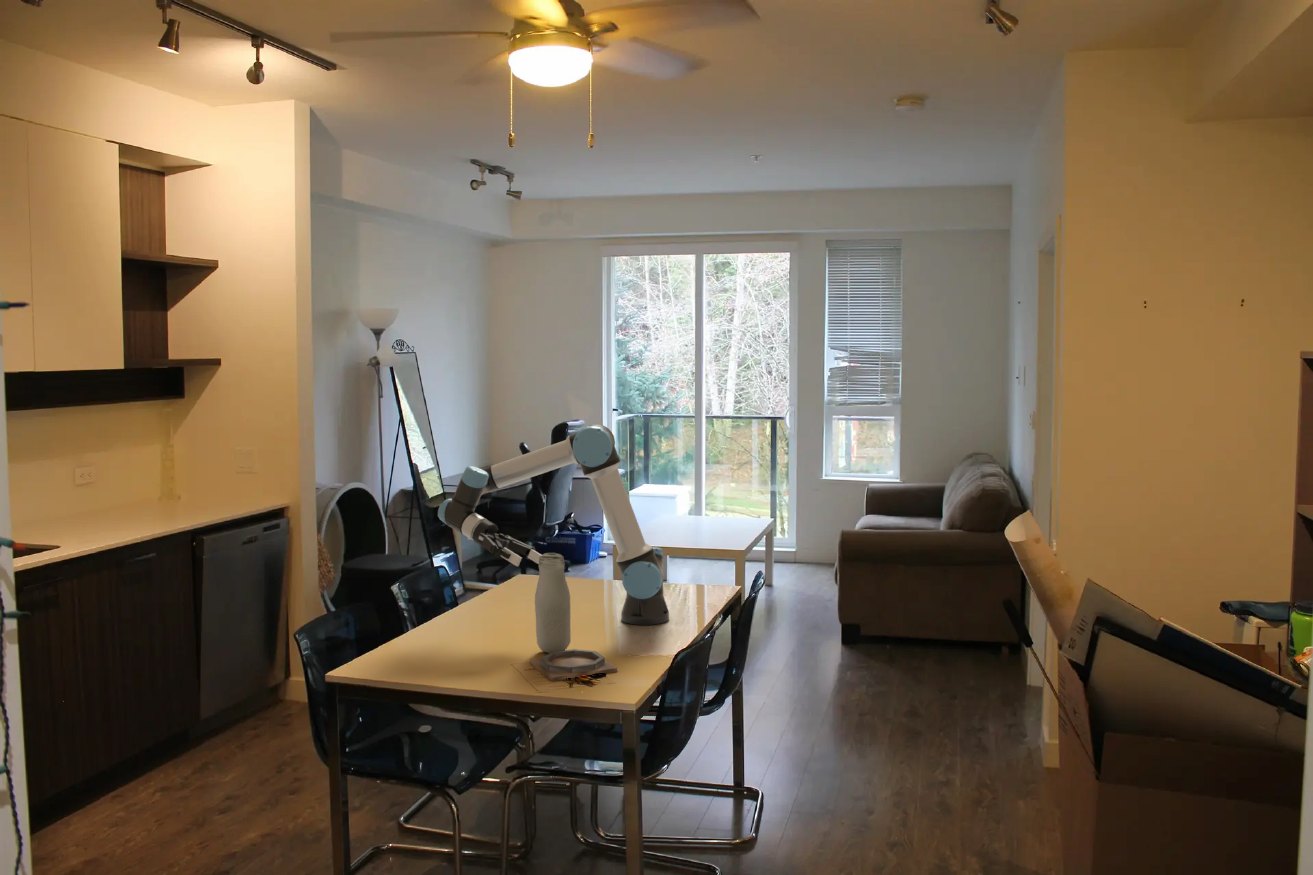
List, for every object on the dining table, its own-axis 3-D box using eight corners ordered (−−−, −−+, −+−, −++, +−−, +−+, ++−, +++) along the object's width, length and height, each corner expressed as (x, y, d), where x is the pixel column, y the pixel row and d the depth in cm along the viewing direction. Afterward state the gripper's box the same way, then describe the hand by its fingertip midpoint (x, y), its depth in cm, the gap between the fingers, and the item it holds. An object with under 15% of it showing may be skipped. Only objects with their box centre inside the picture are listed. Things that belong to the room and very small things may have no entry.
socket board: (592, 654, 272) (592, 645, 272) (617, 671, 256) (617, 662, 255) (530, 662, 264) (529, 653, 264) (551, 681, 248) (551, 671, 248)
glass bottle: (568, 646, 281) (567, 549, 279) (573, 655, 271) (571, 555, 269) (534, 648, 278) (532, 550, 277) (537, 658, 268) (535, 557, 267)
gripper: (500, 543, 303) (551, 575, 293) (448, 540, 281) (502, 573, 271) (510, 521, 303) (561, 552, 293) (459, 516, 281) (512, 549, 271)
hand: (533, 562), depth 282 cm, fingers open, 13 cm apart
